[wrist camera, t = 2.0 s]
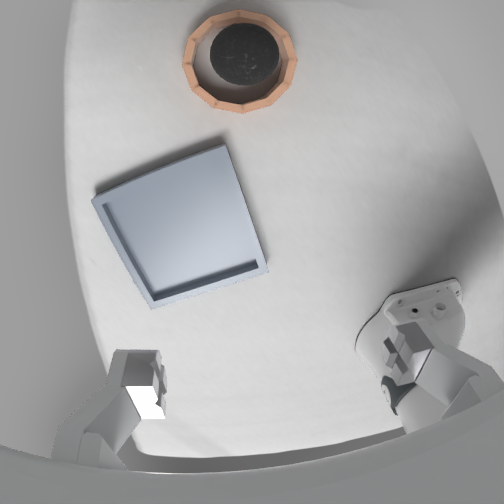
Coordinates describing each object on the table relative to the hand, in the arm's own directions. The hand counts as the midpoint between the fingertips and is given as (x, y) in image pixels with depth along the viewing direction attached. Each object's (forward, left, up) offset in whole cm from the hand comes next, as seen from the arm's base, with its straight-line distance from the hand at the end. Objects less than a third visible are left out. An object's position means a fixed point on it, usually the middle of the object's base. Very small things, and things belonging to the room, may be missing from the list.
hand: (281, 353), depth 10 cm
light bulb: (-4, -11, -27) cm, 29 cm away
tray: (+8, +5, -26) cm, 28 cm away
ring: (-4, -11, -26) cm, 29 cm away
